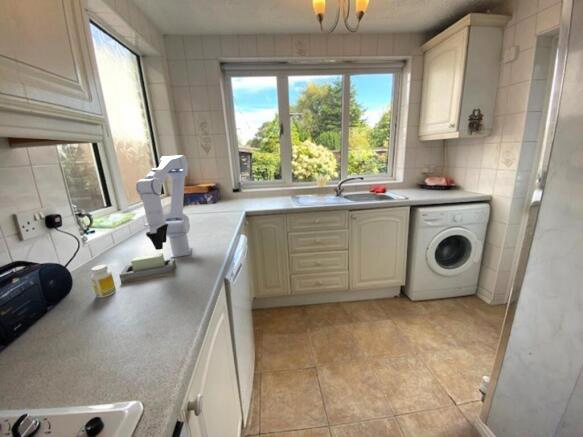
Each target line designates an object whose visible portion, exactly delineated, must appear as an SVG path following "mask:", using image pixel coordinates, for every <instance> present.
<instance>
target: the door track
mask: <svg viewBox="0 0 583 437" xmlns="http://www.w3.org/2000/svg"><path fill="white" fill-rule="evenodd" d="M164 261H165V266H160V267H154V268H148V269H142V270H136V271H133V267H132V264H128V265H125V266H124V268H123V270H122V271H121V272H120V273H119V279H120V283H121V284H126V283H131V282H137V281H142V280H148V279H154V278H158V277H159V278H160V277H165V276H171V275H174V274H175V270H176V267H177V263H176V257H173V258H171V257H170V258H166V259H165V258H164Z"/></svg>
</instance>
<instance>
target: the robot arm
mask: <svg viewBox="0 0 583 437" xmlns="http://www.w3.org/2000/svg"><path fill="white" fill-rule="evenodd" d="M159 161H160V164H159V166H158V167H157V168H156V167H155V168H154V167H152V168H151V171H150V172H148V174H147V175H146V176H145V177H144V178H143V179H139V180H137V182H136V186H135V187H136V188H135V190H136V194H138V195H139V198H140V200H141V201H142V203H143V204H142V205H143V208H144V209H143V210H144V213H145V217H146V222H147V223H144V227H148V230H149V231H147V232H145V235H146V237H147V238H149V240H150V241H151V243H152V244H153V247H154V248H155V250H156V251H157V250H158V251H159V250H163V248H164V243H166V242H167V238H169V244H170V248H171V249H170V250H171V254H170V257H169V258H170V259H171V258H176V257H184V256H189V255H191V252H192V248H193V247H192V246H190V243H189V238H188V233H189V232H190V229H191V224H190V218H189V216H188V215H186V214H185V213H184V212H183V211H184V194H185V180H186V179H185V178H186V177H188V173H189V162H188V159H187V157H186V156H185V154H181V155H168V156H166V155H163V156H161V158H160V160H159ZM167 177H169V178H170V179H172V180H171V182H172V183H171V184H172V185H171V195H170V209H169V210H170V212H169V213H167V214H166V215H165V214H164V210H163V206H162V200H161V195H160V194H161V193H162V187H163V183H164V182H165V181H166V180H167ZM164 215H165V216H164Z"/></svg>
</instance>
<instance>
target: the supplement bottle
mask: <svg viewBox="0 0 583 437" xmlns="http://www.w3.org/2000/svg"><path fill="white" fill-rule="evenodd" d="M91 273H92V274H91V276H90V280H91V283H92V287H93V290H94V293H95V296H96V297H97V298H99V299H101V298H103V299H104V298H107V297H108V296H111V295H113V294H115V293H116V290H117V289H116V284H115V282H114V277H113V274H112V271H111V270H109V269H108V266H107V264H99V265H96V266H94V267H92V268H91Z"/></svg>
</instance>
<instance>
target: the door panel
mask: <svg viewBox="0 0 583 437" xmlns="http://www.w3.org/2000/svg"><path fill="white" fill-rule="evenodd" d="M164 259H165V256H164V253H157V254H156V253H155V254H149V255H144V256H143V255H142V256H137V257H133V258H132V259H131V261H130V262H131V265H132V267H133V271H136V270H142V269H148V268H154V267H160V266H165V261H164Z"/></svg>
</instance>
